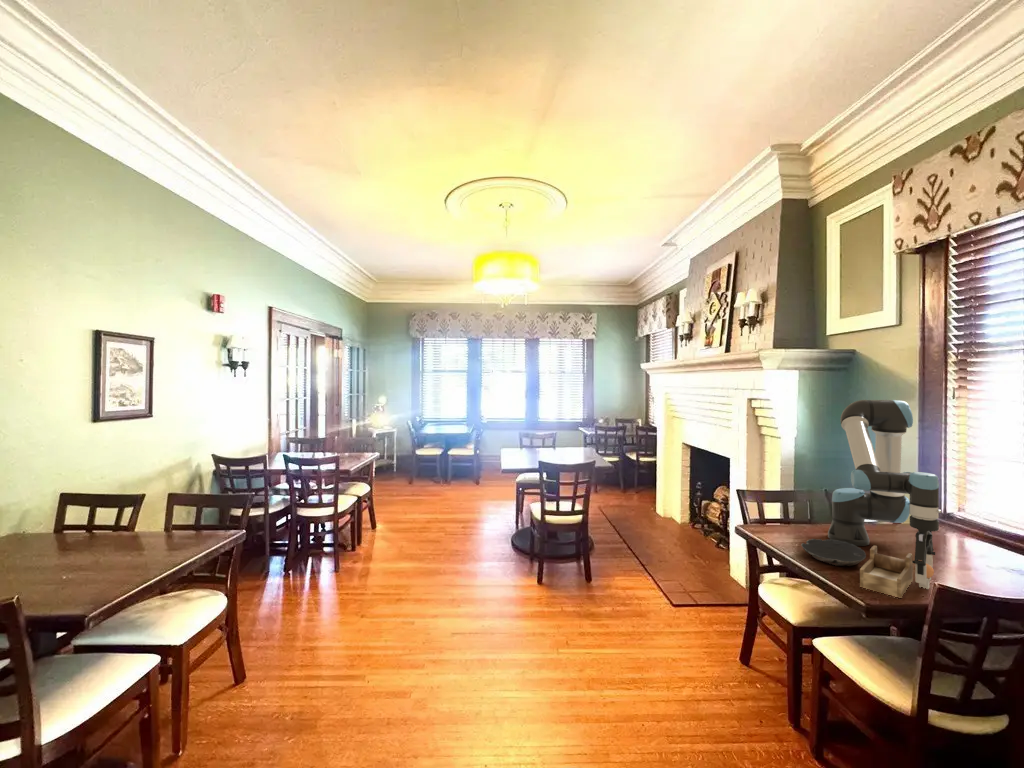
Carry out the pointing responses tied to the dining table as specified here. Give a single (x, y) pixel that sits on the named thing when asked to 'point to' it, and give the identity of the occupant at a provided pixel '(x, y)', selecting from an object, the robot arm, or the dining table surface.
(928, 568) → the ball
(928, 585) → the grey egg cup
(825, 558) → the board
